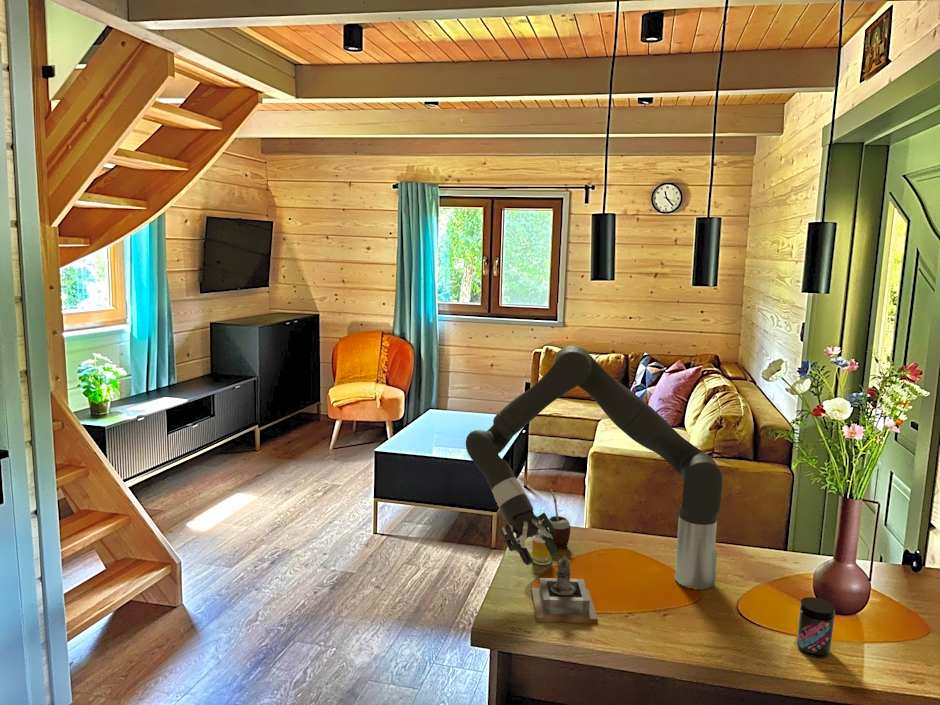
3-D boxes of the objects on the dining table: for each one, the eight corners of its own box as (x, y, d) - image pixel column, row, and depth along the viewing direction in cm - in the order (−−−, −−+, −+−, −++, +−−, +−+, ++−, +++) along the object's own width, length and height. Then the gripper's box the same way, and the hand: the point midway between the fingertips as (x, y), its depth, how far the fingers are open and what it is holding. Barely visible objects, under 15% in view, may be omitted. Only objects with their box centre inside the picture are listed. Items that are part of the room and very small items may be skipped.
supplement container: (789, 644, 158) (793, 600, 156) (811, 638, 161) (816, 594, 159) (814, 661, 152) (819, 615, 150) (837, 654, 154) (842, 609, 153)
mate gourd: (563, 553, 201) (565, 502, 198) (537, 547, 205) (539, 496, 202) (574, 544, 207) (576, 494, 205) (548, 537, 211) (550, 488, 208)
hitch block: (588, 592, 179) (589, 575, 178) (597, 623, 165) (598, 604, 165) (531, 591, 179) (532, 574, 178) (536, 621, 165) (536, 603, 165)
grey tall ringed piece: (577, 598, 174) (579, 551, 172) (572, 610, 169) (574, 562, 166) (553, 594, 176) (554, 548, 174) (547, 606, 170) (549, 558, 168)
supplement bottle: (552, 565, 193) (553, 531, 192) (532, 565, 193) (533, 530, 192) (550, 556, 199) (552, 523, 197) (531, 556, 199) (532, 522, 197)
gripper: (498, 499, 176) (529, 560, 169) (540, 487, 185) (571, 545, 178) (483, 513, 180) (513, 573, 174) (524, 500, 189) (554, 557, 183)
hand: (542, 559), depth 176 cm, fingers open, 8 cm apart
